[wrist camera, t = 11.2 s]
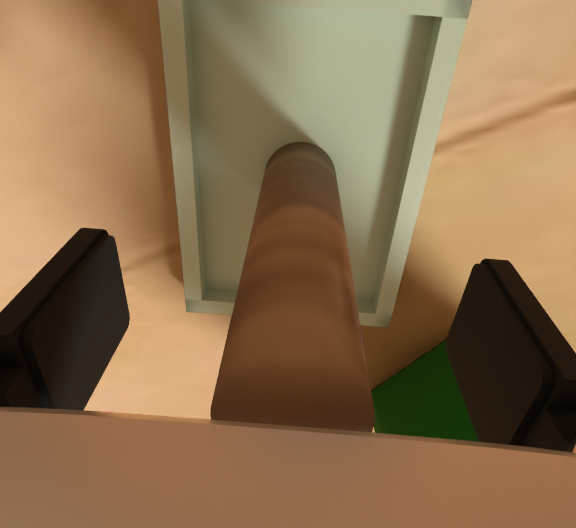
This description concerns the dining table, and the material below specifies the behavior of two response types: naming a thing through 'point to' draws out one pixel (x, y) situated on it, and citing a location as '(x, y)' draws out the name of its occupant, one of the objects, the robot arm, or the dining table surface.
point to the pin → (296, 308)
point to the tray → (304, 124)
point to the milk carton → (423, 401)
